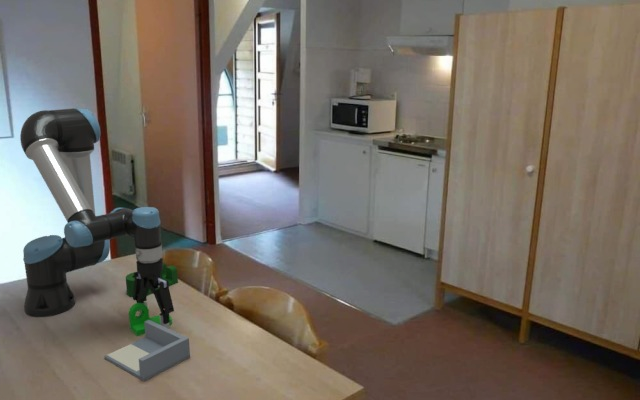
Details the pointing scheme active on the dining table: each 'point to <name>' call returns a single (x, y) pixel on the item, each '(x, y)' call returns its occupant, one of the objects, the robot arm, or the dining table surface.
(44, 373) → the dining table surface
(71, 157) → the robot arm
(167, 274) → the slotted cylinder bracket
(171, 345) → the corner arena
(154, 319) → the mechanical part
